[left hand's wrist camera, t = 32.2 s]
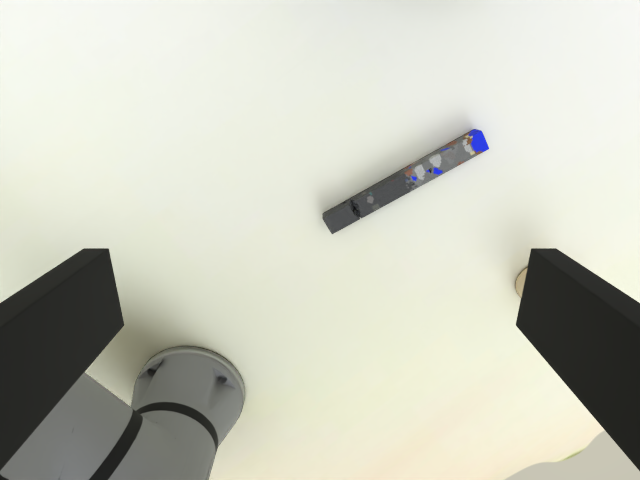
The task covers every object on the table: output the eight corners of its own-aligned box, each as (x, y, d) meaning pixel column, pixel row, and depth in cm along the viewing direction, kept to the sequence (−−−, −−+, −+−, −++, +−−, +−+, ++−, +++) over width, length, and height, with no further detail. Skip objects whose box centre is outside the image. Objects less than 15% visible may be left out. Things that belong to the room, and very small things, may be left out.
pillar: (322, 218, 45) (484, 129, 42) (322, 213, 47) (476, 127, 44) (332, 234, 46) (492, 147, 42) (331, 228, 48) (484, 144, 44)
